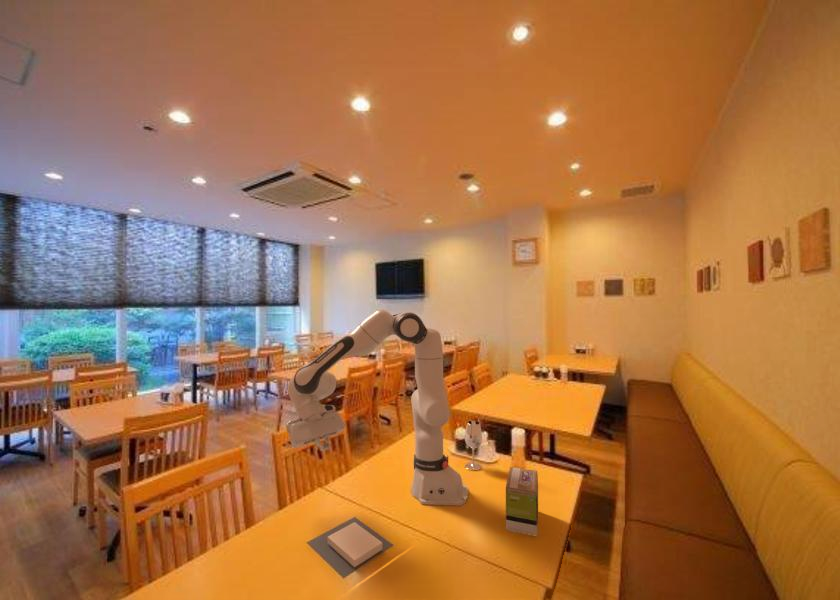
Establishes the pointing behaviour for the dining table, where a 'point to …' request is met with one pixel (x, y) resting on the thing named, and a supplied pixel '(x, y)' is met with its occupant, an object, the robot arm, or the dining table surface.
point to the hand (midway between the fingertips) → (326, 449)
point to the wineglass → (473, 441)
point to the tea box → (522, 501)
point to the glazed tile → (354, 544)
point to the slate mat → (334, 557)
